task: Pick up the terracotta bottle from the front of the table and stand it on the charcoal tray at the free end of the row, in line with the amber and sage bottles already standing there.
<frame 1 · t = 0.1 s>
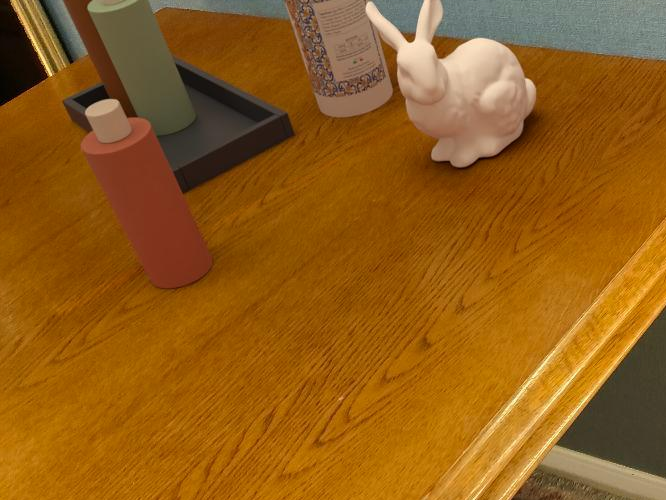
amber bottle: (142, 106, 97), point 1 cm above the table, touching tray
terracotta bottle: (181, 269, 78), on the table
tray: (181, 135, 93), on the table
bath foam: (358, 108, 92), on the table
sage bottle: (170, 122, 94), point 1 cm above the table, touching tray
rabbit: (467, 149, 84), on the table
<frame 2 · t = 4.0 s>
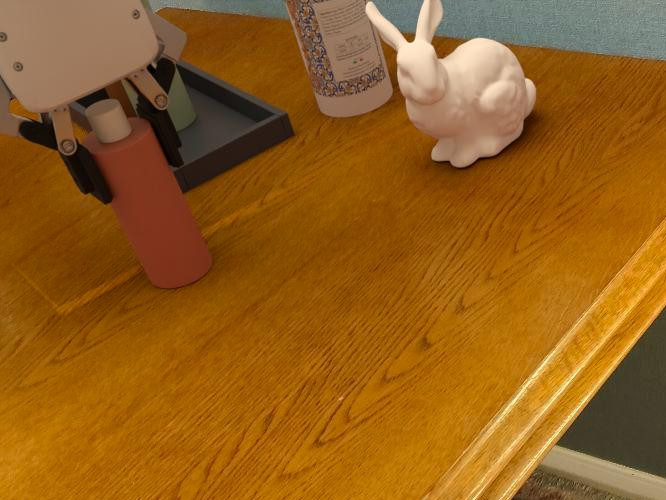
hand: (136, 176, 72), 8 cm above the table, tool pointing down, fingers closed on terracotta bottle, 5 cm apart
terracotta bottle: (181, 269, 78), on the table, touching gripper
everything else where it was.
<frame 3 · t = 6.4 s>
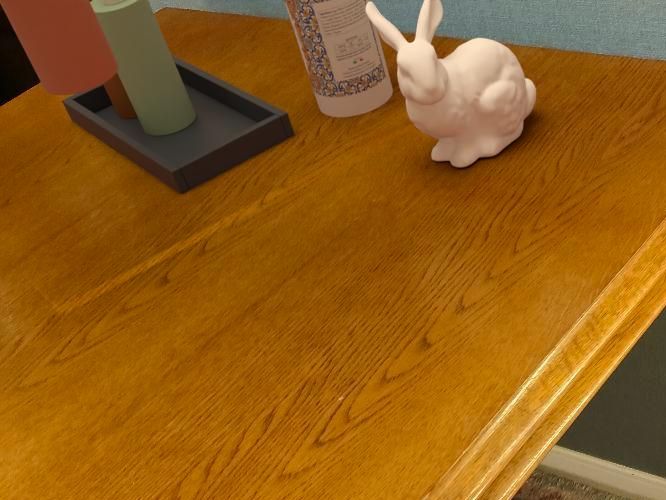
terracotta bottle: (81, 77, 67), point 15 cm above the table, touching gripper
everything else where it was.
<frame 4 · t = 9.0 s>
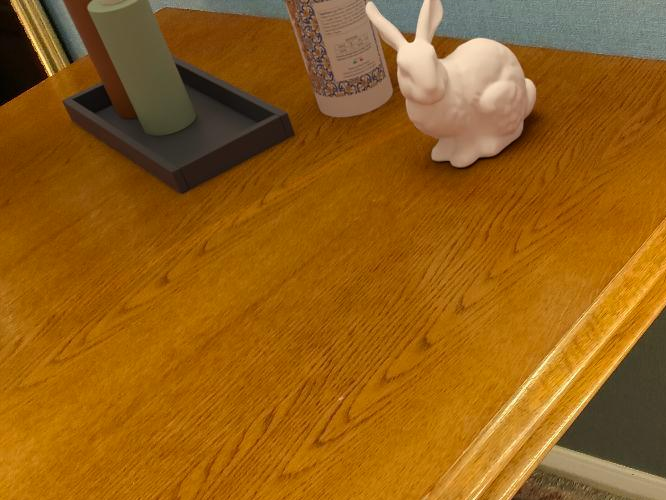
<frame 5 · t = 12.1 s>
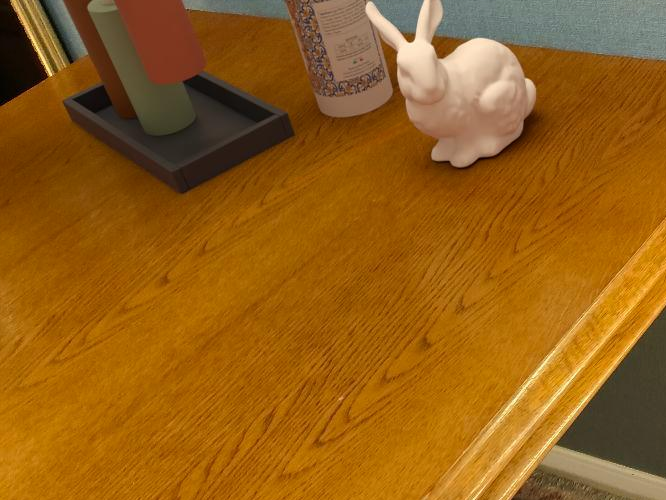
terracotta bottle: (178, 70, 85), point 7 cm above the table, touching gripper
everything else where it was.
when the fingers open (9 cm above the table, at t = 14.4 s): terracotta bottle stays where it is, resting on tray.
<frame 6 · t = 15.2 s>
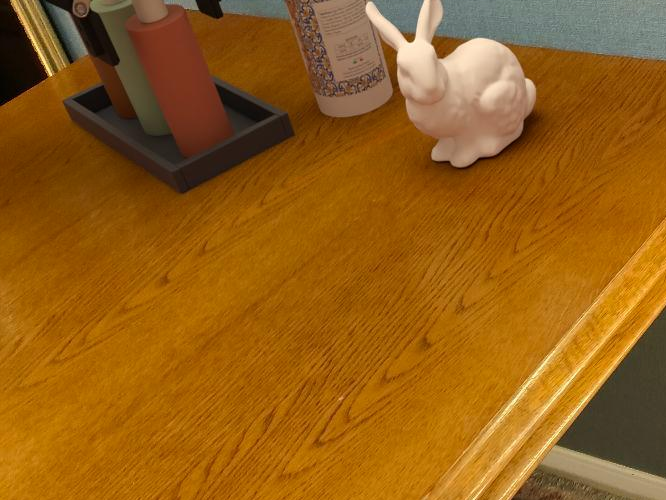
hand: (162, 37, 82), 10 cm above the table, tool pointing down, fingers open, 9 cm apart
terracotta bottle: (208, 144, 89), point 1 cm above the table, touching tray
everything else where it was.
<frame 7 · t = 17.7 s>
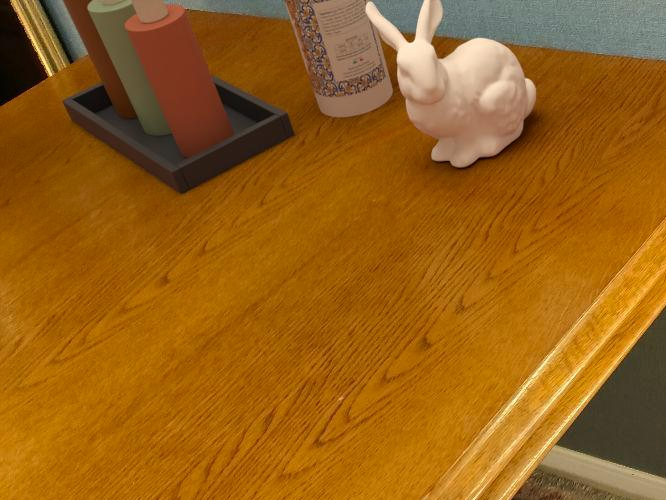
nothing on the table moved.
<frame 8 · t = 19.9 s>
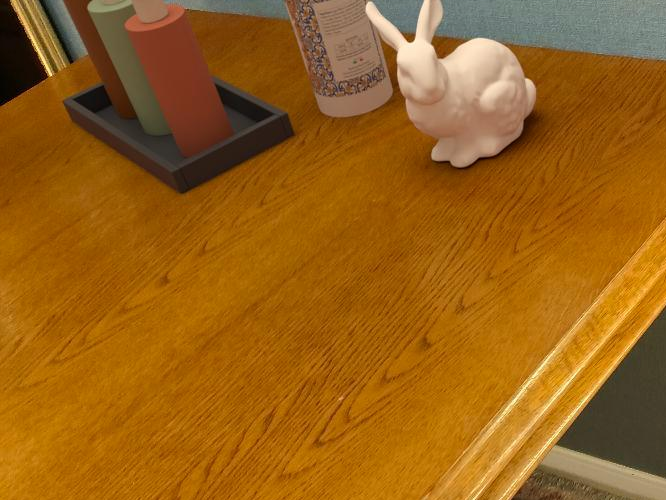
nothing on the table moved.
at the end: terracotta bottle 0.0 cm from the target spot in the tray, point 0.8 cm above the tray's base; terracotta bottle tilted 0°; the gripper is holding nothing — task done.
